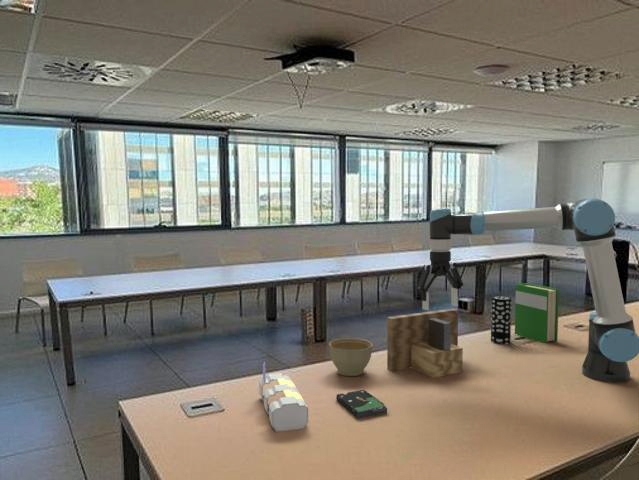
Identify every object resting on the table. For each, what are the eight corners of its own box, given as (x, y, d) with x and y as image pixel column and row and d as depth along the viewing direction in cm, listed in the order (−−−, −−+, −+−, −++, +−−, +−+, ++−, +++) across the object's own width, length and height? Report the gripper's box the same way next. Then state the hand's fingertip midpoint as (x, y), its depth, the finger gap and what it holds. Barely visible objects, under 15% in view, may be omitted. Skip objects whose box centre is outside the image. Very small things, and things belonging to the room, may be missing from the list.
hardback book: (557, 341, 221) (559, 289, 220) (545, 343, 218) (547, 290, 217) (526, 332, 237) (527, 283, 236) (514, 334, 234) (515, 284, 233)
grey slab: (434, 358, 189) (434, 317, 188) (450, 365, 181) (450, 323, 180) (427, 360, 188) (428, 318, 186) (443, 367, 180) (444, 323, 178)
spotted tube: (486, 340, 225) (487, 296, 223) (502, 338, 227) (503, 295, 226) (498, 345, 217) (499, 300, 215) (514, 343, 219) (515, 299, 218)
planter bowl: (380, 376, 179) (380, 347, 178) (339, 382, 173) (339, 352, 172) (360, 363, 194) (360, 335, 193) (322, 368, 188) (322, 340, 187)
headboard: (452, 356, 201) (453, 308, 200) (480, 367, 187) (481, 316, 186) (387, 369, 187) (387, 317, 185) (412, 382, 173) (412, 326, 171)
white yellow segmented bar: (259, 398, 160) (258, 359, 159) (290, 395, 163) (289, 356, 162) (272, 433, 136) (271, 387, 135) (308, 428, 139) (307, 383, 138)
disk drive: (335, 403, 157) (357, 421, 144) (335, 394, 157) (357, 411, 144) (363, 397, 162) (388, 414, 148) (363, 389, 161) (388, 405, 148)
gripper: (459, 248, 190) (458, 302, 192) (406, 251, 179) (406, 309, 180) (473, 249, 183) (472, 305, 185) (419, 253, 172) (419, 313, 174)
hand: (440, 307), depth 183 cm, fingers open, 13 cm apart
